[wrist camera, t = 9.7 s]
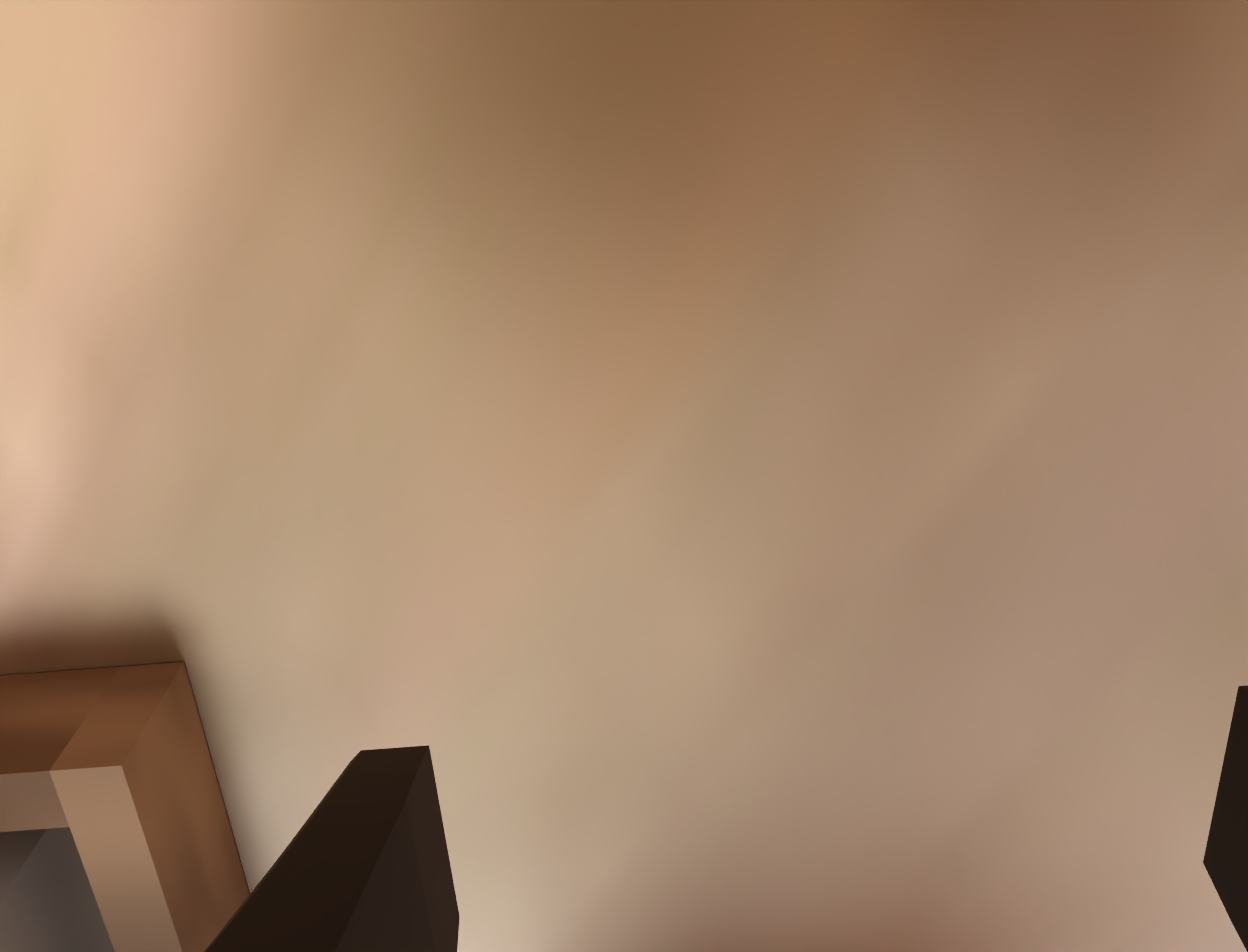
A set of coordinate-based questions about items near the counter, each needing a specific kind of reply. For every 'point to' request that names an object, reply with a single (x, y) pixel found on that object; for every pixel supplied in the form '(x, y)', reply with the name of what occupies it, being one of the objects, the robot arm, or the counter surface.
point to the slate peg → (47, 895)
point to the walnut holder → (125, 797)
